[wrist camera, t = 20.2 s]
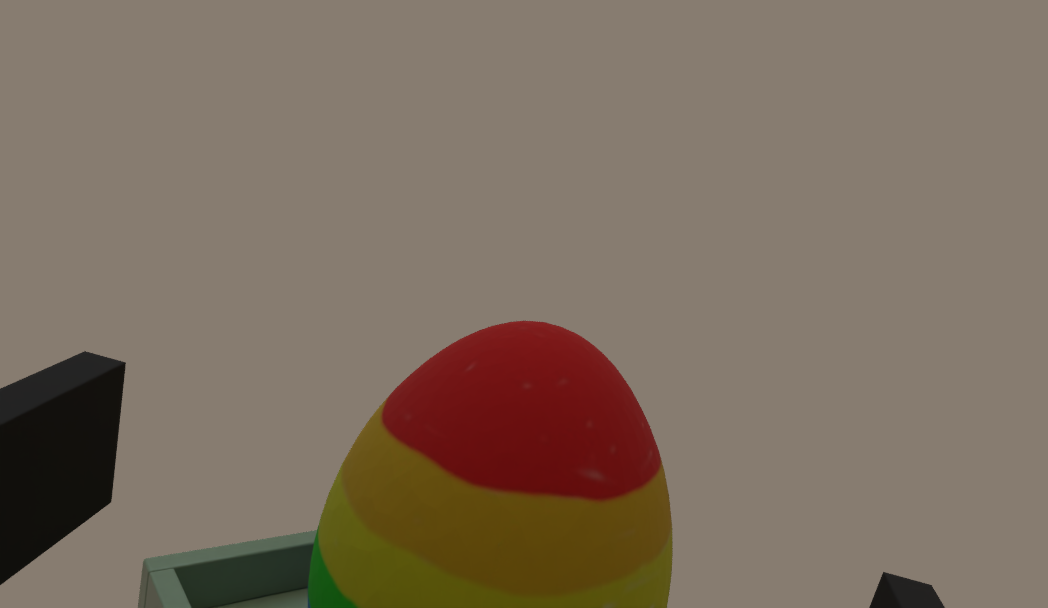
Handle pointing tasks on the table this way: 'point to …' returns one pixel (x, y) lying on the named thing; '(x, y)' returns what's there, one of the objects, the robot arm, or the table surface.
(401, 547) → the decorative egg
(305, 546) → the stand
